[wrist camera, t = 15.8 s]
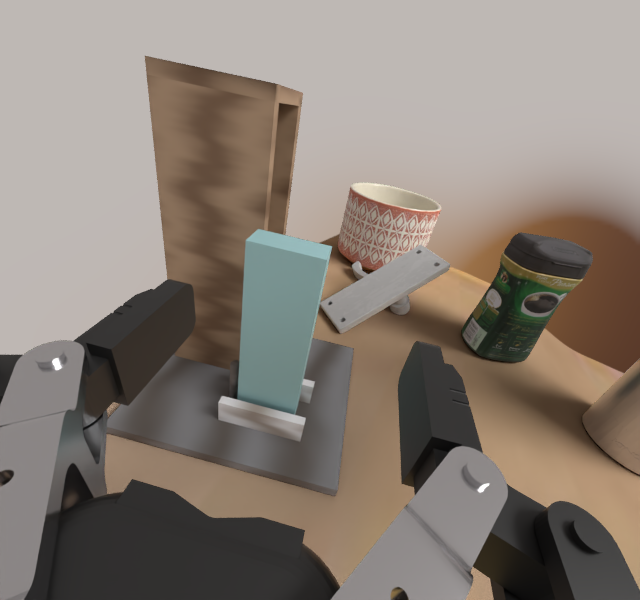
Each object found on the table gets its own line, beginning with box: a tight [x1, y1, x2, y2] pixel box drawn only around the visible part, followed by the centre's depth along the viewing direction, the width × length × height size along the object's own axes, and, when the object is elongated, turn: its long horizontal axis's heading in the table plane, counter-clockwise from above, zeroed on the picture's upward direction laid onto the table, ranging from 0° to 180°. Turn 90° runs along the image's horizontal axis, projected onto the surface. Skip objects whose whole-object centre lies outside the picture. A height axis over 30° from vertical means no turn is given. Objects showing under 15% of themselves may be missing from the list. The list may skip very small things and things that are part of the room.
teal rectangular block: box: [237, 229, 332, 415], centre depth 26 cm, size 6×4×18 cm, turn 80°
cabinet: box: [107, 56, 354, 496], centre depth 27 cm, size 21×18×28 cm
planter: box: [337, 183, 441, 272], centre depth 67 cm, size 19×19×15 cm
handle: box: [320, 245, 450, 334], centre depth 54 cm, size 18×8×20 cm
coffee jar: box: [462, 233, 593, 362], centre depth 44 cm, size 10×8×19 cm
